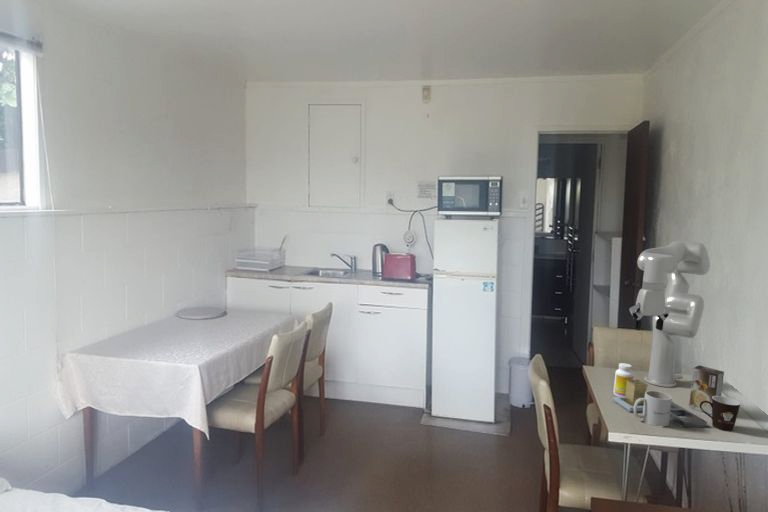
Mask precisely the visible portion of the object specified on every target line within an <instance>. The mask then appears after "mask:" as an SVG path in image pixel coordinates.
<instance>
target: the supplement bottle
mask: <svg viewBox="0 0 768 512" xmlns="http://www.w3.org/2000/svg"><path fill="white" fill-rule="evenodd" d="M614 373H615V374H614V382H613V391H612V393H613V395H614V397H617V396H625V394H626V385H627V382H626V380H634V373H633V372H632V365H631V364H629V363H625V362H624V363H623V362H620V363H618V369H616V370H615V372H614Z"/></svg>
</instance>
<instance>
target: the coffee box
mask: <svg viewBox="0 0 768 512" xmlns="http://www.w3.org/2000/svg"><path fill="white" fill-rule="evenodd" d="M724 374H725V371H723V370H718V369H716V368H710V367H707V366H704V365H696V366H695V367H693V369H692V376H691V378H692V379H691V387H690V394H689V395H690V396H689V403H688V408H690V409H692V410H695V411H699V412H701V413H704V412H703V411H702V410H701V408H700V403H701V402H702V401H709V402H711V403H712V397H713V396H722V392H723V391H722V389H723V383H724V382H723V381H724ZM701 407H702V409H703V410H704V411H705V412H706V413H708V414H709V415H710V416H712V407H711V405H710V404H709V403H707V402H705V403H703V404H702V405H701Z"/></svg>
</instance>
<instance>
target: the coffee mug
mask: <svg viewBox="0 0 768 512" xmlns="http://www.w3.org/2000/svg"><path fill="white" fill-rule="evenodd" d="M705 402H707V403H709V404H710V405H711V407H712V415H711V414H708V413H706V412H705V411H704V410H703V409H702V407H701V405H702V404H703V403H705ZM700 408H701V410H702V411H703V412H702V411H701V412H702V413H704V414H705V415H706V416H708V417H709V418H710V419H711V424H712V425H711V426H712V427H713V428H715V429H717V430H720V431H724V432H733V430H734V429H735V425H736V422H737V417H738V414H739V412H740V411H739V410H740V408H741V402H740V401H739V400H737V399H735V398H732V397H728V396H724V395H721V396H713V397H712V403H711V402H709V401H702V402H701V403H700Z"/></svg>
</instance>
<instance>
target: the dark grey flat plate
mask: <svg viewBox="0 0 768 512" xmlns="http://www.w3.org/2000/svg"><path fill="white" fill-rule="evenodd" d="M680 416H683V417H680ZM669 420H671V421H672V420H673V421H672V422H674V423H676V424H677V425H679V426H680V425H681V427H682V426H683V427H682V428H707V424H708V421H707V420H705V419H703V418H702V417H700V416H698V415H697V414H694V413H692V412H690V411H689V410H687V409H685V408H684V407H682V406H680V405H679V404H677V403H675V402H673V401H671V409H670V417H669Z"/></svg>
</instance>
